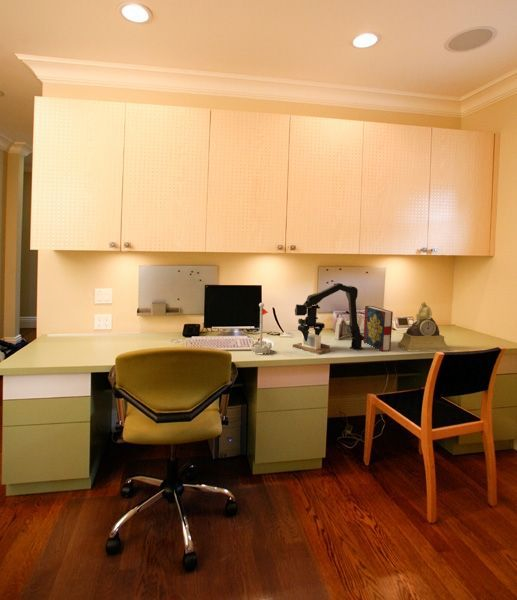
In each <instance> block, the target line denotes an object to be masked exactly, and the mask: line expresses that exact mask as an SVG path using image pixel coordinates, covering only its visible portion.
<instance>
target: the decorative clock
mask: <svg viewBox="0 0 517 600" xmlns="http://www.w3.org/2000/svg"><path fill="white" fill-rule="evenodd" d="M420 305H421V306H420V307H419V309H418V313H416V314H415V316H416V321H415V322H413V323H412V324H411V325H410V326H409V327H408V328H407V329H406V331H405V332H403V333H402V339H401V340H399V342H398V343H397V346H398V347H399V346H400V347H399V348H401V347H402V348H401V349H403V348H404V349H405V351H406V350H407V352H409V351H408V350H436V351H435V352H439V351H438V350H445V352H446V351H447V352H448V351H451V347H450V345H448V344H447V343H446V341H445V335H443V334H440V329H439V325H438V324H437V323H436V321H435V319H434V318H432V315H433V312H432V309H431V307H430V306H429V305H427V303H426V302H425V301H422V302H421V303H420ZM404 349H403V350H404Z"/></svg>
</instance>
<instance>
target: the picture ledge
mask: <svg viewBox="0 0 517 600" xmlns="http://www.w3.org/2000/svg"><path fill="white" fill-rule="evenodd" d="M294 347H295V349H297V350H301V349H302V350H301V351H304V352H308V351H309V353H312V354H315V353H316V355H322V353H323V354H326V352H327V353H330V352H331V348H330V347H331V346H330V345H329V344H326V343H321V348H320V349H313V348H309V347H305V346H302V342H299V343H294V344H292V348H294Z"/></svg>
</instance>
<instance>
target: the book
mask: <svg viewBox="0 0 517 600" xmlns="http://www.w3.org/2000/svg"><path fill="white" fill-rule="evenodd" d="M393 315H394V312H393V311H391V310H387V309H385V308H381V307H376V306H373V305H366V306H364V319H363V321H364V322H363V335H362V336H363V337H364V339H363V340H362V343H363V342H364V343H363V344H365V343H367V344H369V345H371V346H370V347H372V346H373V347H372V348H374V347H375V348H374V349H376V348H377V349H376V350H378V349H379V350H378V351H380V350H382V351H381V352H384V351H388V350H390V351H391V345H392V332H393V331H392V328H393ZM367 344H366V345H367ZM369 345H368V346H369Z"/></svg>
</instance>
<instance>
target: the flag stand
mask: <svg viewBox="0 0 517 600" xmlns="http://www.w3.org/2000/svg"><path fill="white" fill-rule="evenodd" d="M258 306H259V310H260V311H259V340H255V341H251V342H249V344H250V345H249V348H250V349H251V352H252V351H253V352H255V353H268V354H270V353H271V349H272V347H273V345H272V342H270V341H266V340H263V320H264V318H263V317H264V315H266V314H268V313H269V312H268V311H267V310H266V309H265V308H264V307H265V304H264V303H263V302H260V303H259V304H258ZM254 345H256V346H255V347H254ZM269 352H270V353H269Z"/></svg>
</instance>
